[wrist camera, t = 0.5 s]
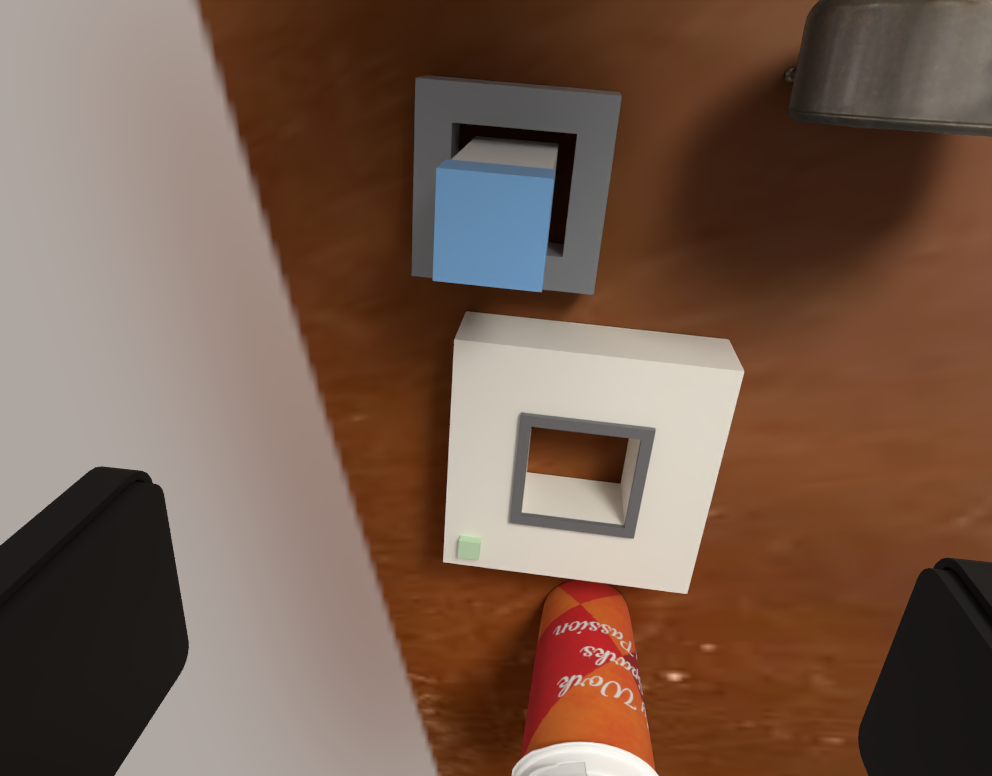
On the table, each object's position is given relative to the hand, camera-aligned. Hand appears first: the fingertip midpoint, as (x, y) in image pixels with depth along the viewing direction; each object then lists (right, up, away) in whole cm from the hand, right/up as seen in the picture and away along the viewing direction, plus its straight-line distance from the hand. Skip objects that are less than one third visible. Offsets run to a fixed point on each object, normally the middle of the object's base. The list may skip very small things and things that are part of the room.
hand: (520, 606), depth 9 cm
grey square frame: (+1, +13, +26) cm, 29 cm away
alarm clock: (+17, +17, +22) cm, 33 cm away
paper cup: (+6, -12, +38) cm, 40 cm away
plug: (+1, +13, +26) cm, 29 cm away
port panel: (+5, 0, +32) cm, 32 cm away
